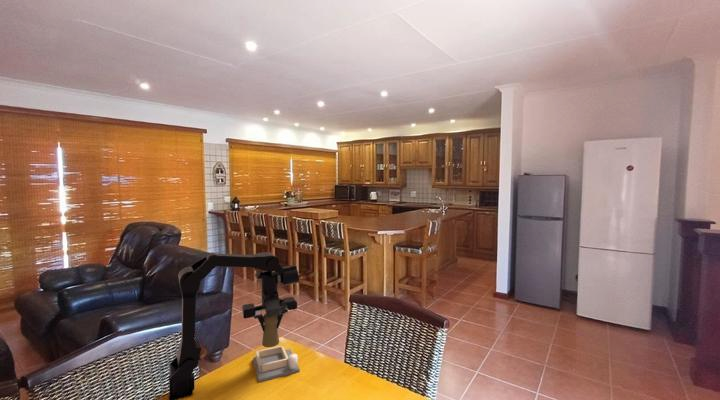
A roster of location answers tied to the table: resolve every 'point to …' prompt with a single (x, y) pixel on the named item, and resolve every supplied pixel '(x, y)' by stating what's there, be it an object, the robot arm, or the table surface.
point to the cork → (270, 331)
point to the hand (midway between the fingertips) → (270, 329)
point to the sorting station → (275, 363)
